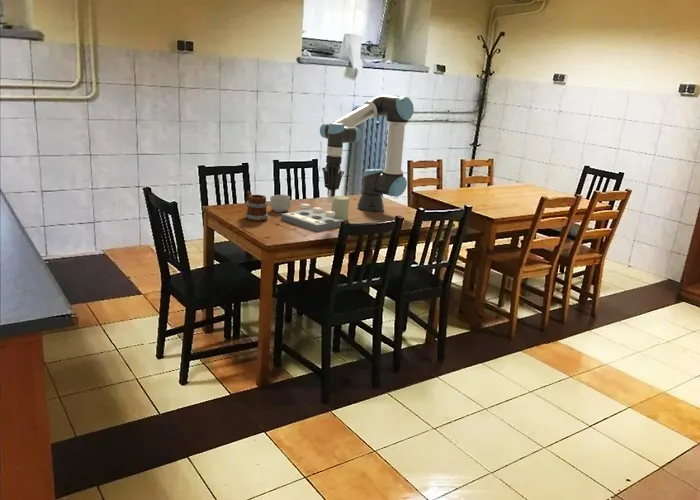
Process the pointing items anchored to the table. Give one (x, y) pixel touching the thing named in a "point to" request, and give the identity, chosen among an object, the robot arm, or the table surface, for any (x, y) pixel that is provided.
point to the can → (341, 207)
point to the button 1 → (305, 206)
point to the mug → (256, 208)
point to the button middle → (317, 210)
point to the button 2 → (330, 214)
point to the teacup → (280, 203)
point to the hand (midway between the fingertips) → (330, 202)
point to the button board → (311, 220)
